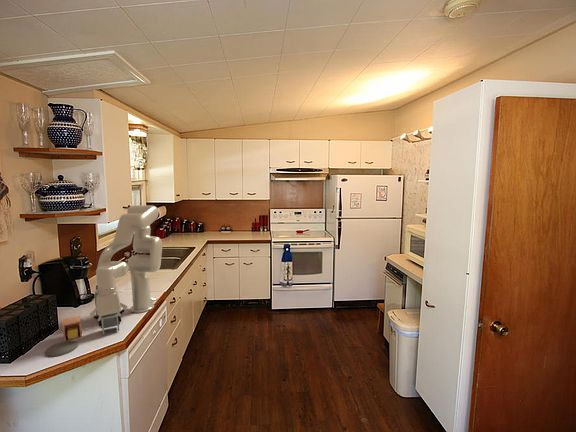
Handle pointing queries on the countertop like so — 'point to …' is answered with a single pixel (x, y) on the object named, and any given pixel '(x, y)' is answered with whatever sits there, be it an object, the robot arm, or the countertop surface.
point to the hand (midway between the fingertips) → (110, 325)
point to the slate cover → (110, 321)
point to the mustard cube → (72, 332)
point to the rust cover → (71, 325)
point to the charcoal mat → (61, 348)
